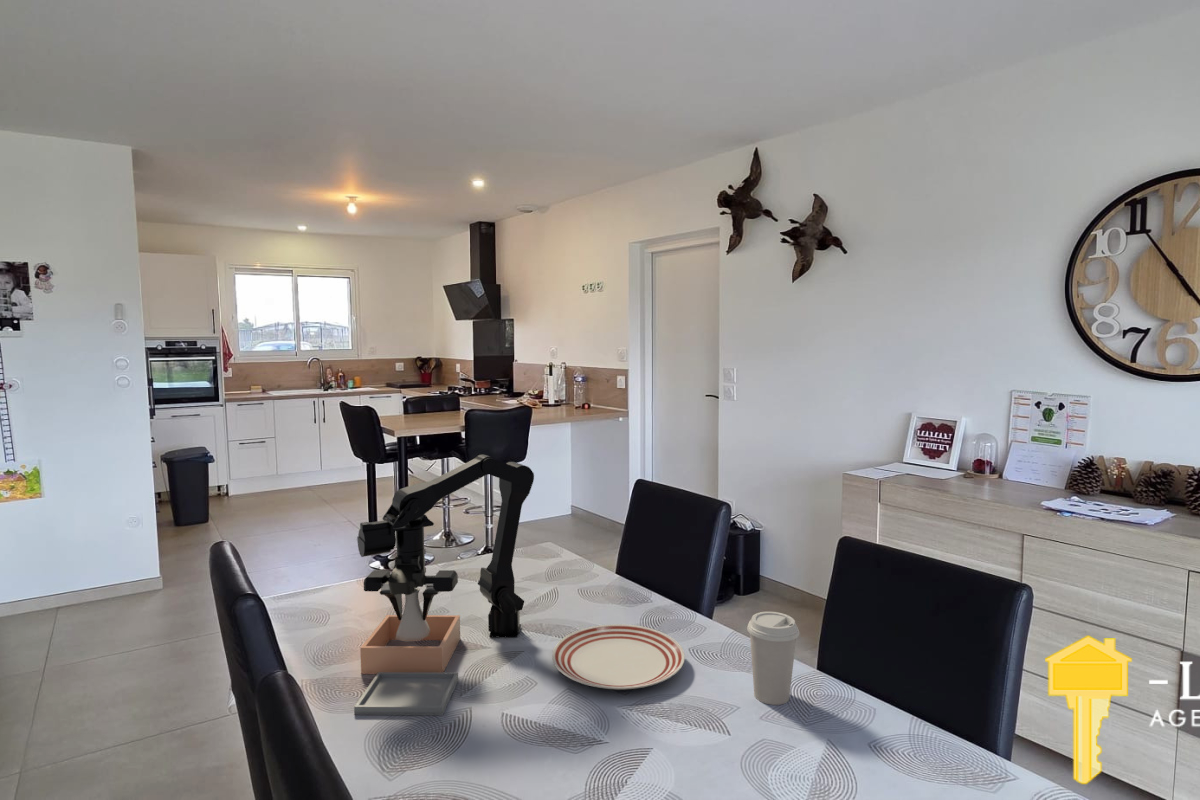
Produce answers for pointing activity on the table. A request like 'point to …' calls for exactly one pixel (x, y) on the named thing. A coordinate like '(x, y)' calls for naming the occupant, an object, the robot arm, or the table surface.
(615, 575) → the table surface
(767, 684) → the coffee cup
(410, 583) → the robot arm
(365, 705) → the grey tray
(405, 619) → the flask
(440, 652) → the terracotta box
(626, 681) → the dinner plate
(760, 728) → the table surface
